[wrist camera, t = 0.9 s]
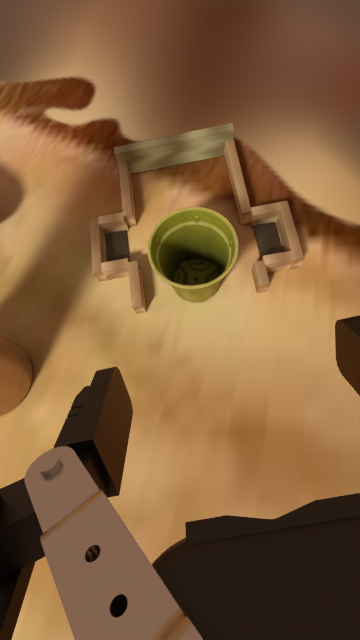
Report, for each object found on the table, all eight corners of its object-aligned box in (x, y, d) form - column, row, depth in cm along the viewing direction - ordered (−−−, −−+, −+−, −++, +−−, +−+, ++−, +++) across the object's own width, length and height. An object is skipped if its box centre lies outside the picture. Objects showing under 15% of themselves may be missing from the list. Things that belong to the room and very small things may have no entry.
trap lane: (101, 319, 40) (90, 308, 37) (92, 175, 48) (81, 153, 44) (304, 284, 39) (313, 270, 35) (262, 141, 46) (266, 115, 42)
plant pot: (236, 250, 41) (241, 207, 33) (231, 318, 39) (235, 290, 30) (166, 246, 43) (153, 205, 34) (156, 313, 40) (140, 285, 32)
